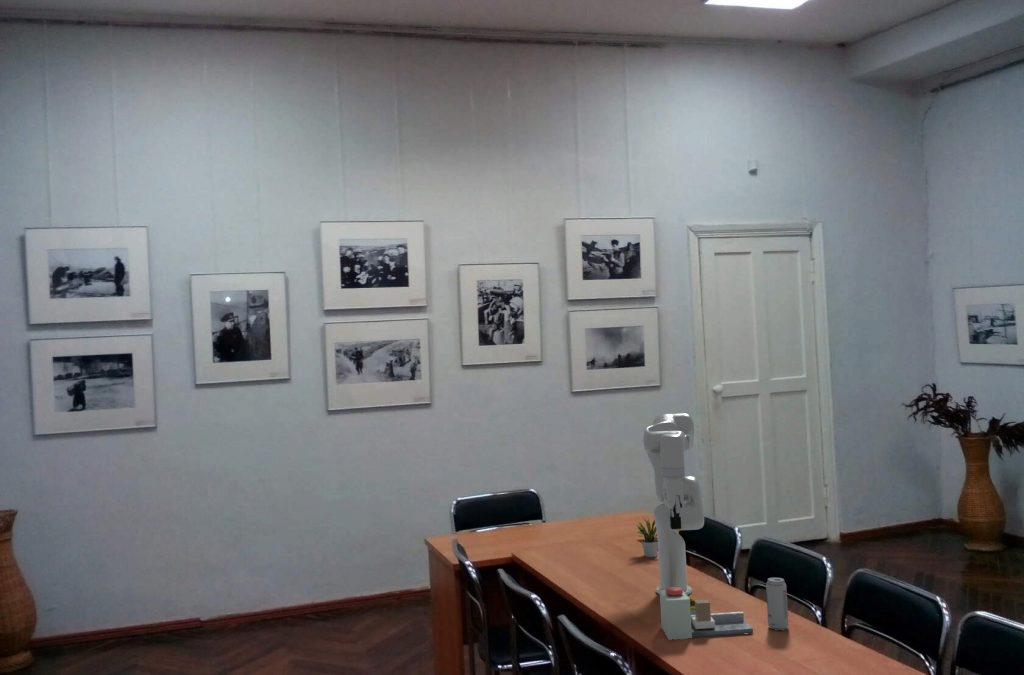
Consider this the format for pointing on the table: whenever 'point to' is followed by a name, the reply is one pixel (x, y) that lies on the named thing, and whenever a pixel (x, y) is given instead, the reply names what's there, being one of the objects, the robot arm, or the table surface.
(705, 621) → the carriage
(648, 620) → the table surface
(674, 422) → the robot arm
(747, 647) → the table surface
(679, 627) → the cabinet
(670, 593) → the button
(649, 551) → the house plant
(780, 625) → the energy drink can
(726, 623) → the track
